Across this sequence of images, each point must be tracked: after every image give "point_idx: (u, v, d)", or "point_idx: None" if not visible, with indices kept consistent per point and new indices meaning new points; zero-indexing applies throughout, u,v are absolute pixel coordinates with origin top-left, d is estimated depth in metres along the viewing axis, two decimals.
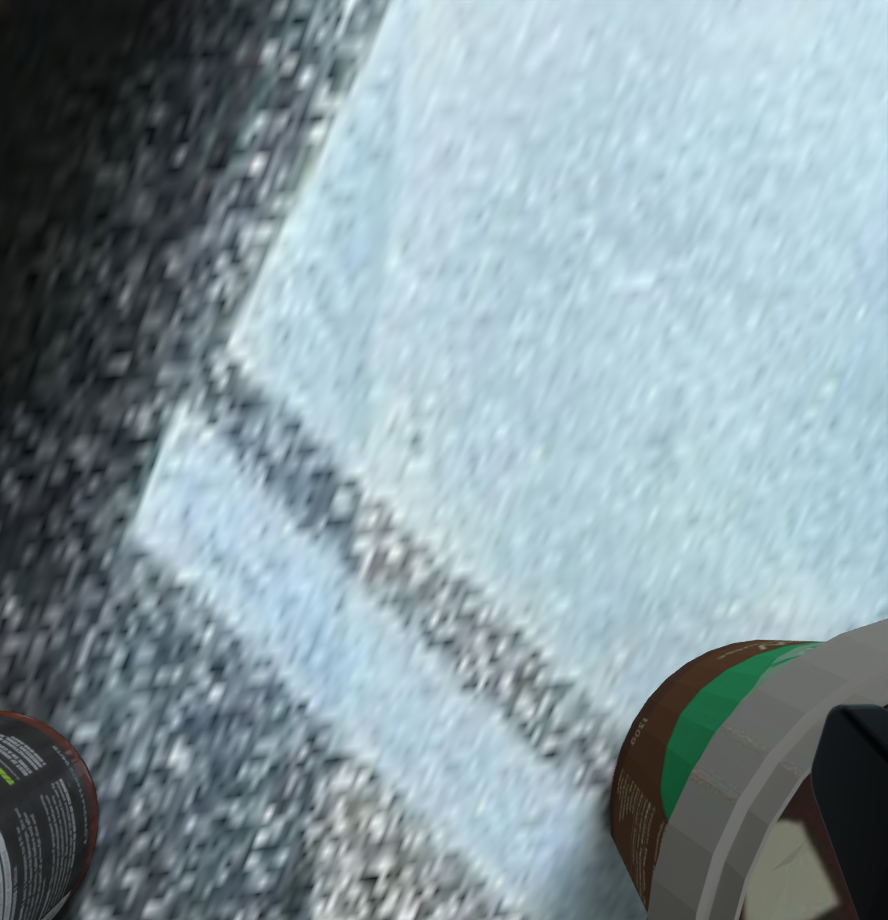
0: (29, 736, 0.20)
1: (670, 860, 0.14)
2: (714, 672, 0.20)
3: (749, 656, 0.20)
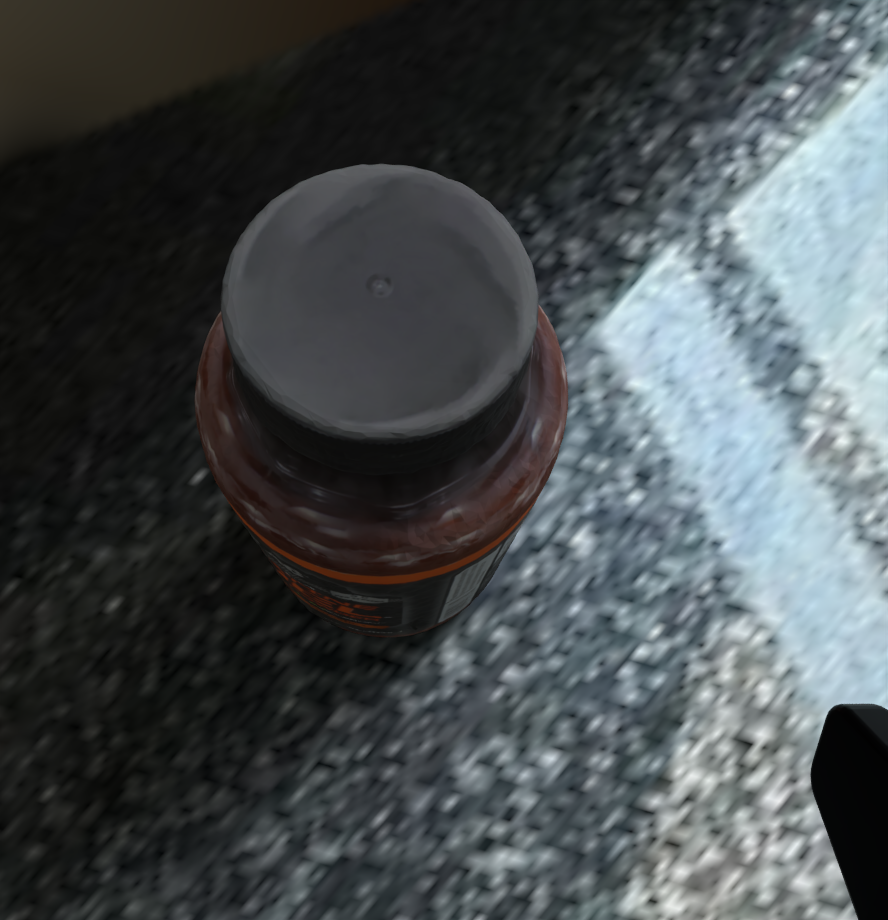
0: None
1: None
2: None
3: None
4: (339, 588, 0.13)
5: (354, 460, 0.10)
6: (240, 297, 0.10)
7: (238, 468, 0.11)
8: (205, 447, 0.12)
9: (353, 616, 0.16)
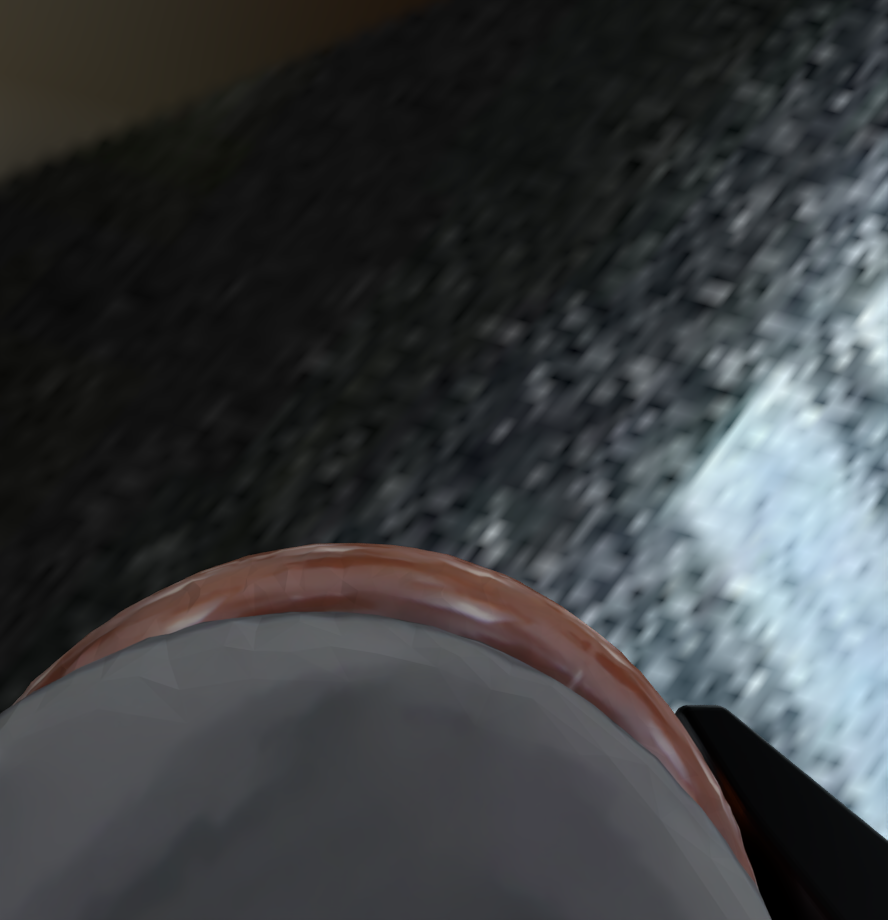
0: None
1: None
2: None
3: None
4: None
5: None
6: None
7: None
8: None
9: None
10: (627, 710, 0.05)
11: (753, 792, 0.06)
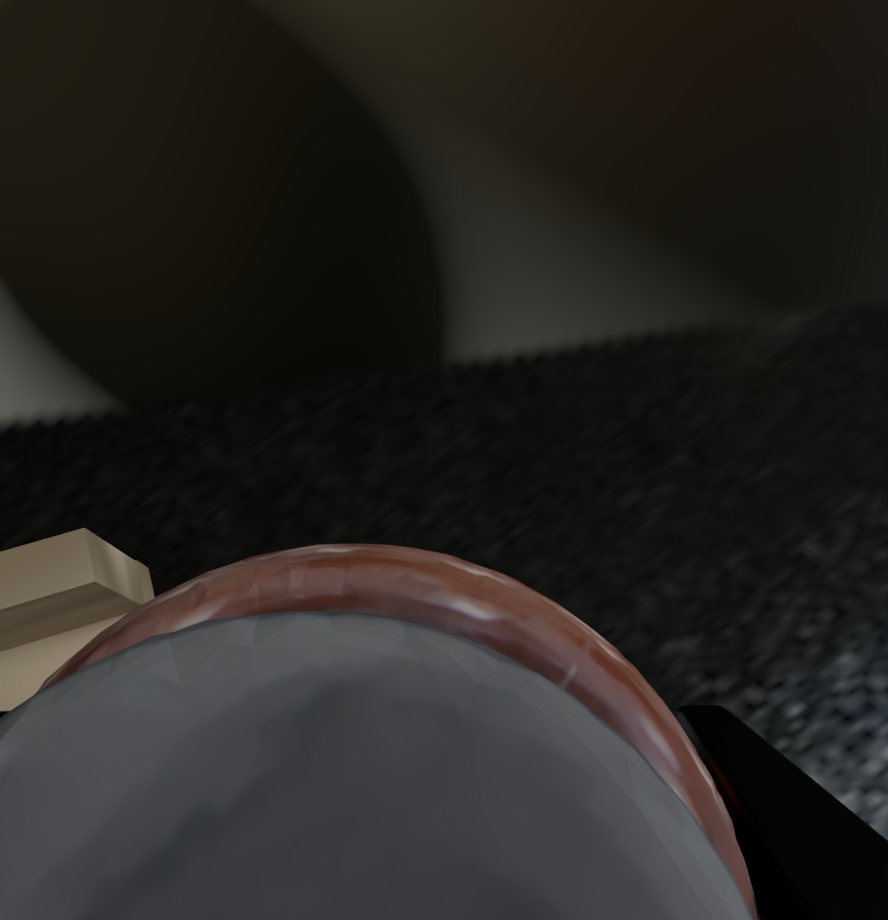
0: None
1: None
2: None
3: None
4: None
5: None
6: None
7: None
8: None
9: None
10: (620, 704, 0.05)
11: (753, 792, 0.06)
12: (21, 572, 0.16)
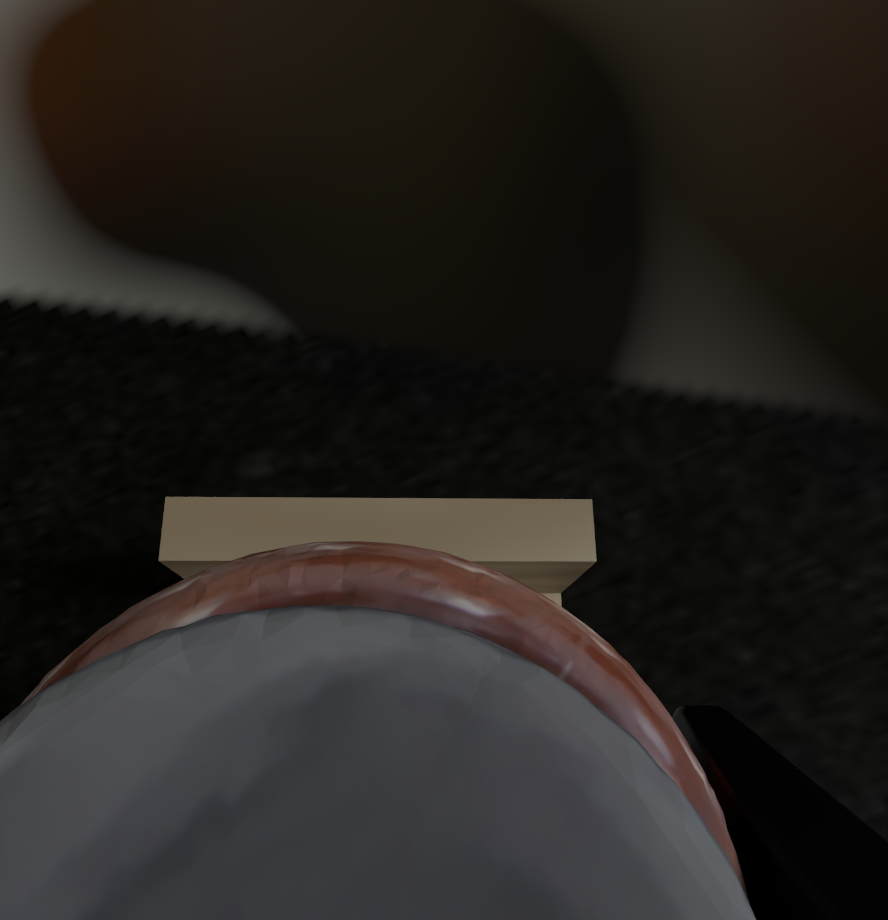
0: None
1: None
2: None
3: None
4: None
5: None
6: None
7: None
8: None
9: None
10: (615, 699, 0.05)
11: (752, 792, 0.06)
12: (520, 527, 0.15)
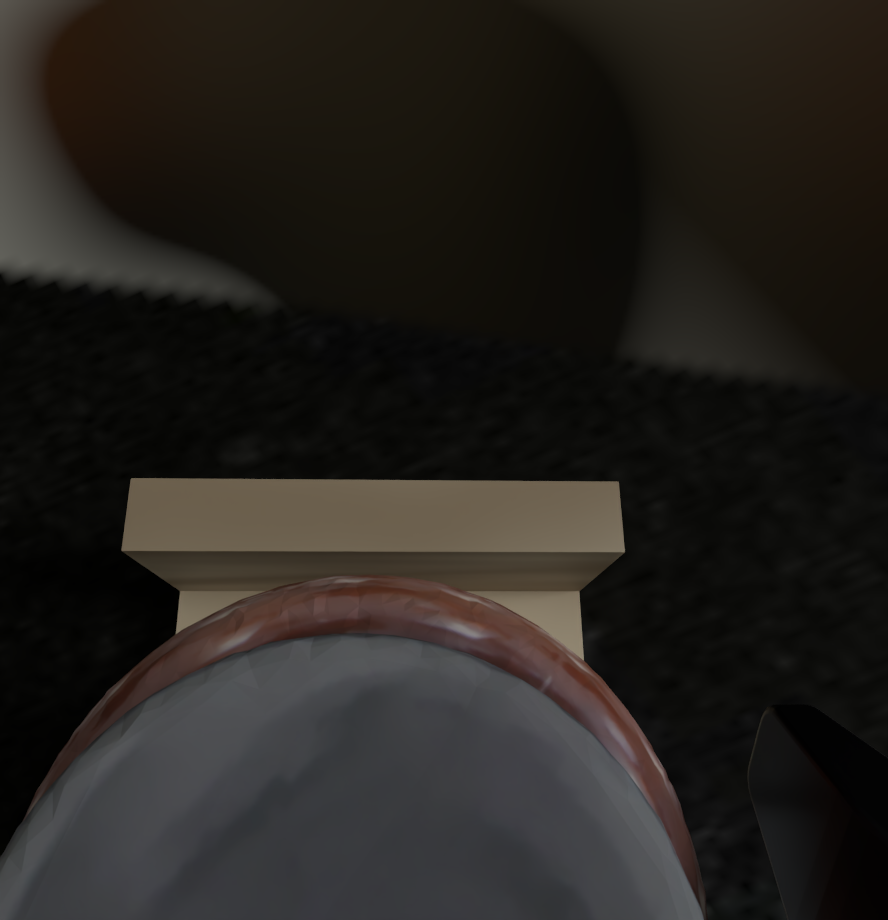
0: None
1: None
2: None
3: None
4: None
5: None
6: None
7: None
8: None
9: None
10: (587, 708, 0.07)
11: (860, 791, 0.06)
12: (537, 513, 0.13)
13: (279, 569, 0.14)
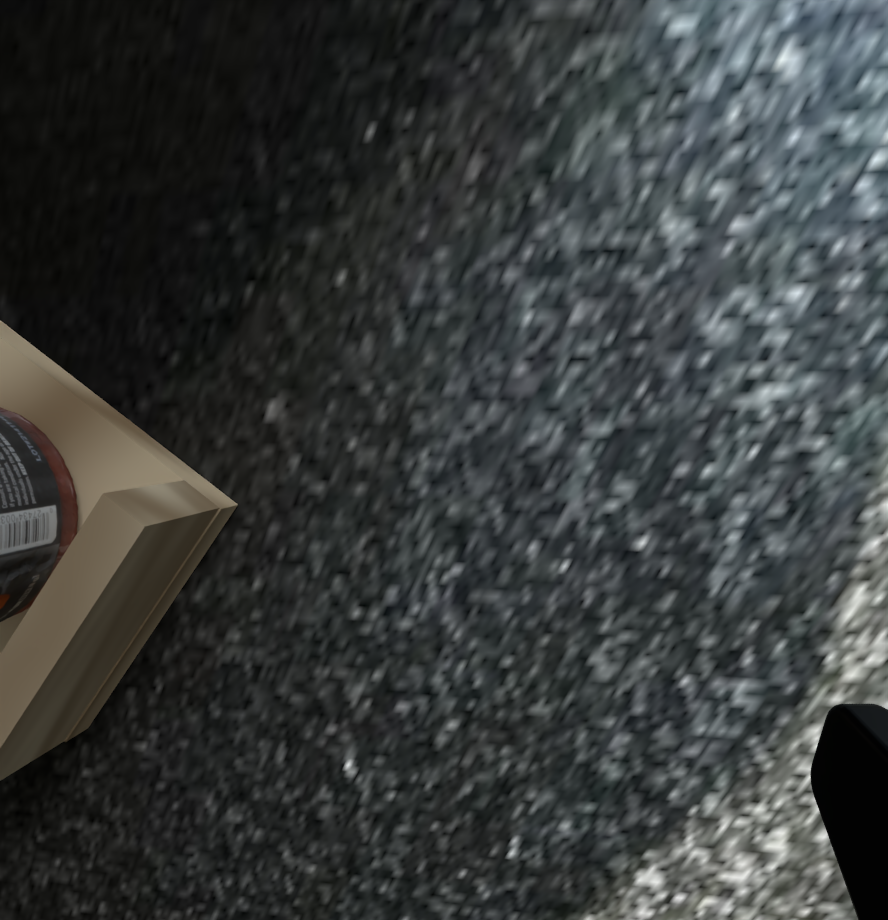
0: None
1: None
2: None
3: None
4: None
5: None
6: None
7: None
8: None
9: None
10: None
11: None
12: None
13: None
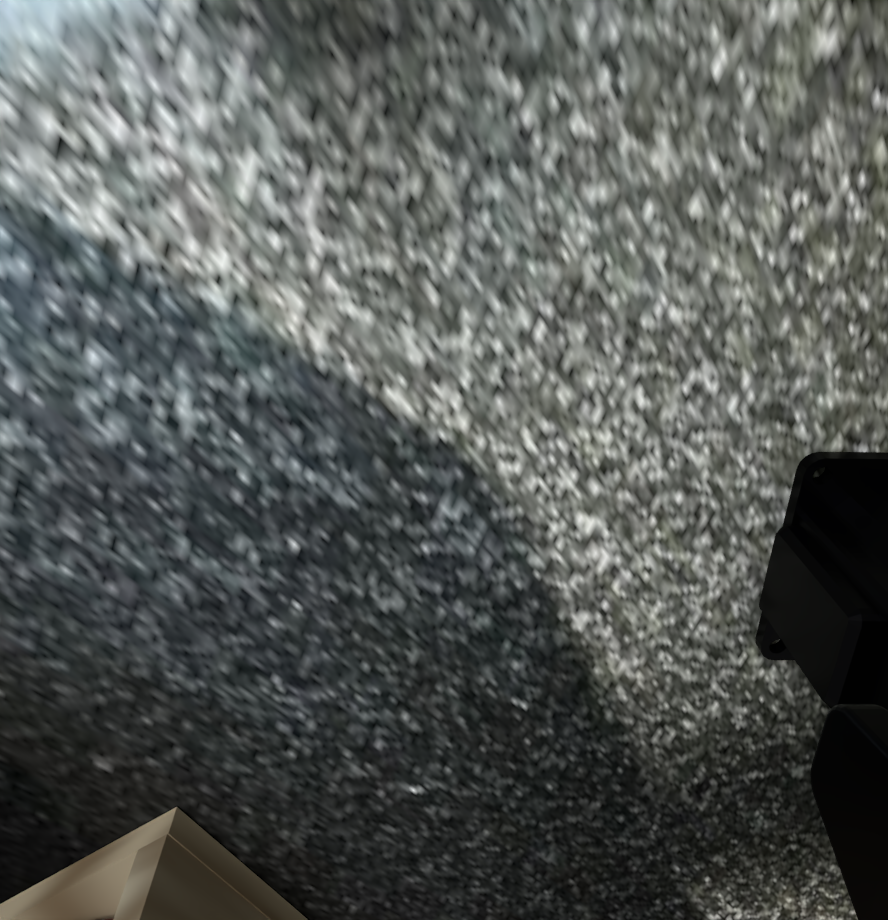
0: None
1: None
2: None
3: None
4: None
5: None
6: None
7: None
8: None
9: None
10: None
11: None
12: None
13: None
